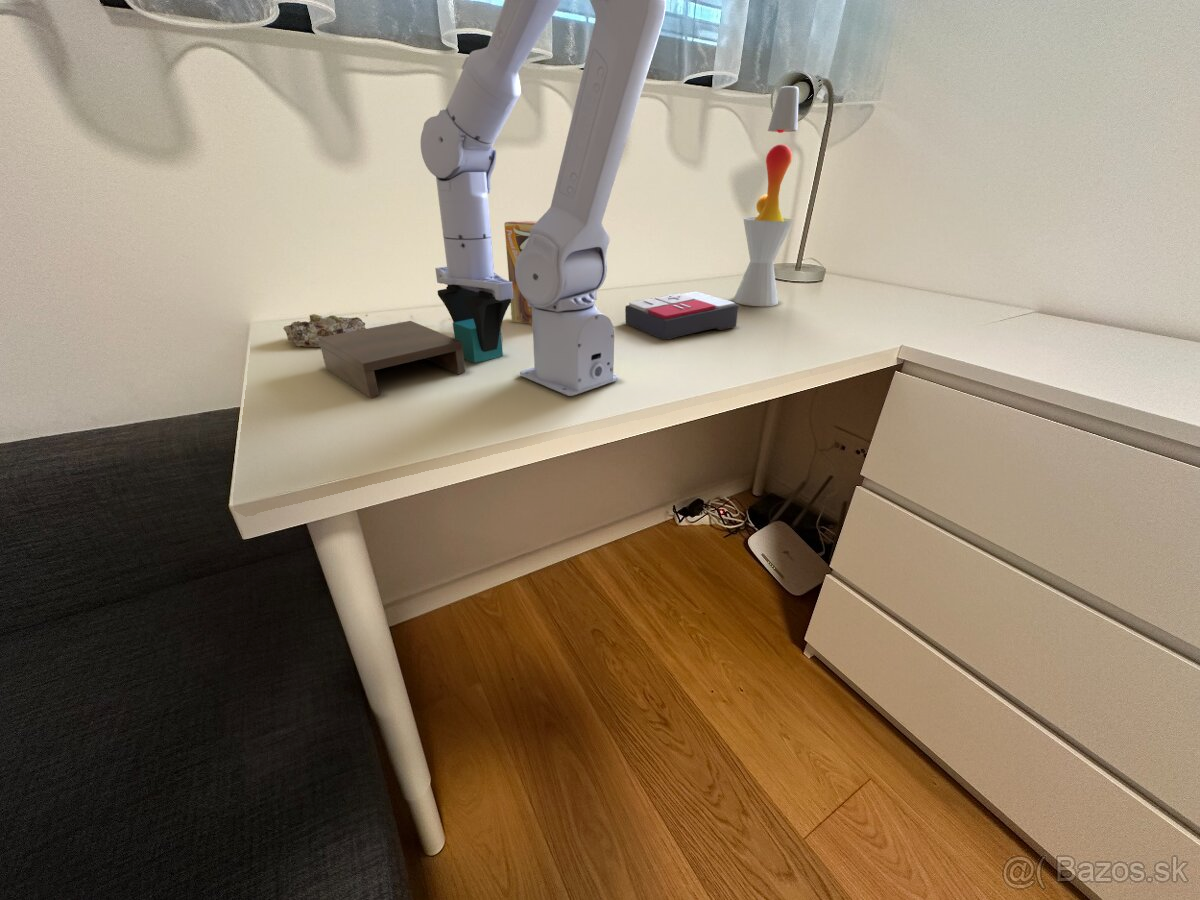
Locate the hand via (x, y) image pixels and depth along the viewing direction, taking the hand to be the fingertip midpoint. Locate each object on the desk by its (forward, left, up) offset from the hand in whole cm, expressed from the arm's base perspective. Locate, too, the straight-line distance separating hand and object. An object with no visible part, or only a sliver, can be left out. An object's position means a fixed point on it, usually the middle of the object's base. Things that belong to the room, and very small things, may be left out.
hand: (478, 345), depth 69 cm
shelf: (+2, +11, -1) cm, 11 cm away
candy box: (+8, -17, -2) cm, 19 cm away
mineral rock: (+21, +12, -2) cm, 24 cm away
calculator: (-9, -33, -2) cm, 34 cm away
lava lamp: (-8, -59, -2) cm, 60 cm away
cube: (0, 0, -1) cm, 1 cm away
